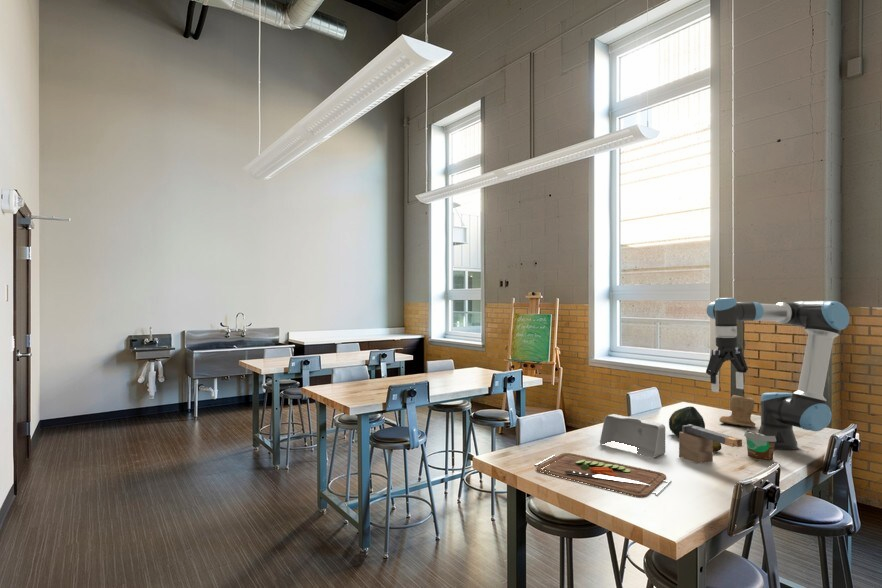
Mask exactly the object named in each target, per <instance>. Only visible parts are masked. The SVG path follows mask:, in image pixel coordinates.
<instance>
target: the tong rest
mask: <svg viewBox="0 0 882 588" xmlns="http://www.w3.org/2000/svg"><path fill="white" fill-rule="evenodd" d="M686 426H688V425H684V426H682V432H679V436H678V457H679V458H682V459H684V460H686V461H690V462H691V463H695V464H704V463H705V464H706V463H713V462H714V452H713V440H709V439H706V438H703V437H700V436H697V435H693V434H690V433H687V432H686ZM693 427H696V428H700V429H703V430H707V431H710V432H713V433H717V434H720V435H723V436H727V437H731V438H734V439H737V446H736V447H737V448H741V447H743V439H742V438H738V437H735V436H732V435H727V434H724V433H721V432H717V431H715V430H714V431H713V430H711V429H708V428H705V429H704V428H701V427H698V426H694V425H693ZM736 447H735V448H736Z"/></svg>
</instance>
